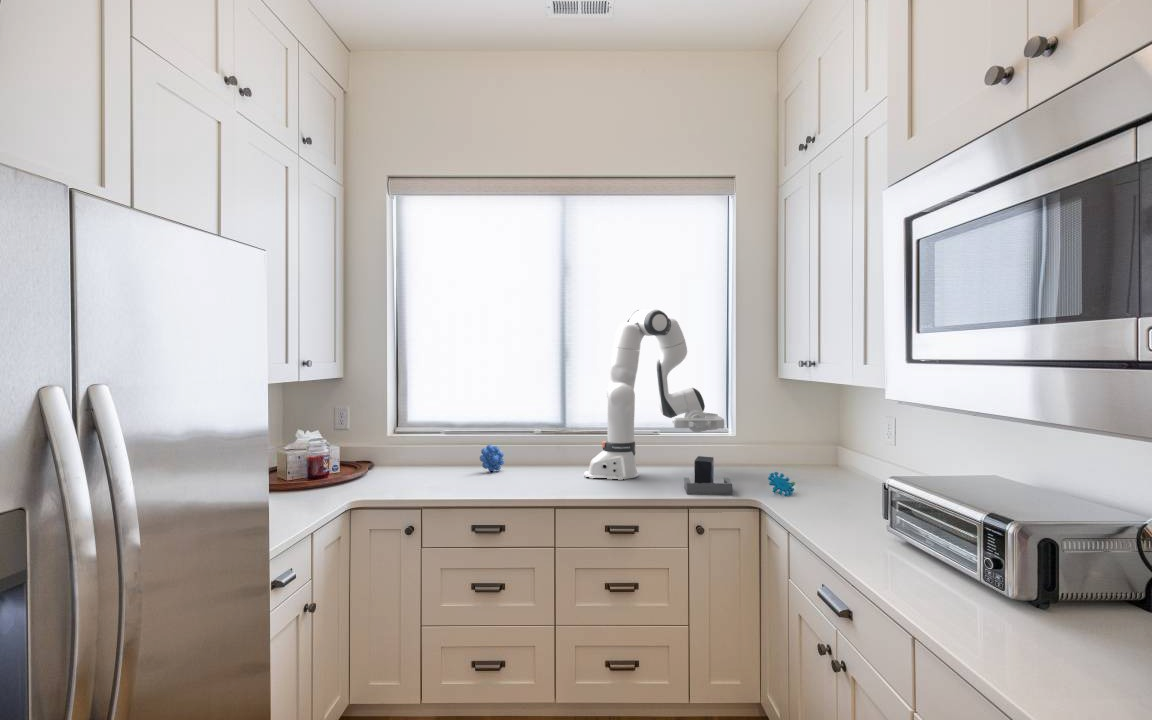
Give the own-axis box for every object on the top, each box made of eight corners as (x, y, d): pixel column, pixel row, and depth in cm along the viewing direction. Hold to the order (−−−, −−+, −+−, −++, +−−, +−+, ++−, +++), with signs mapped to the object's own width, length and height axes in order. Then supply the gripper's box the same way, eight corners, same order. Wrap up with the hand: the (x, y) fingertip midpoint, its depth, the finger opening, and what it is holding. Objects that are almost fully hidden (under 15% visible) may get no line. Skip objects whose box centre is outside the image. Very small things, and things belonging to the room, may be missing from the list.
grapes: (484, 475, 250) (484, 446, 250) (477, 472, 255) (477, 444, 255) (508, 472, 256) (508, 444, 256) (501, 469, 262) (501, 442, 262)
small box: (711, 489, 221) (711, 461, 221) (693, 488, 223) (693, 460, 223) (714, 483, 231) (714, 456, 231) (697, 482, 233) (697, 455, 233)
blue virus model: (776, 493, 206) (765, 469, 213) (767, 502, 210) (757, 479, 217) (802, 495, 210) (791, 471, 217) (793, 504, 214) (782, 481, 221)
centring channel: (687, 494, 213) (686, 483, 213) (684, 488, 223) (684, 477, 223) (732, 494, 212) (732, 483, 212) (727, 488, 222) (727, 478, 222)
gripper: (672, 413, 251) (674, 417, 238) (721, 413, 250) (726, 417, 236) (672, 428, 251) (674, 433, 238) (721, 428, 250) (726, 433, 236)
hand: (700, 425), depth 237 cm, fingers open, 4 cm apart
